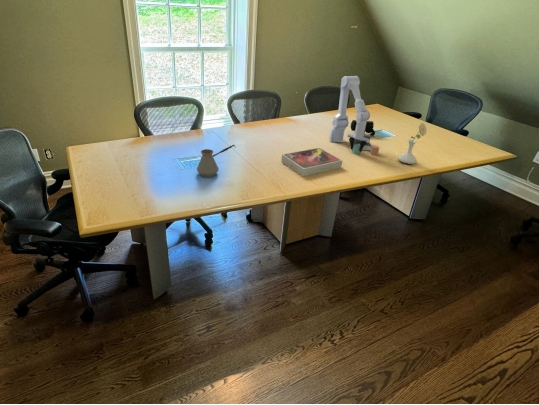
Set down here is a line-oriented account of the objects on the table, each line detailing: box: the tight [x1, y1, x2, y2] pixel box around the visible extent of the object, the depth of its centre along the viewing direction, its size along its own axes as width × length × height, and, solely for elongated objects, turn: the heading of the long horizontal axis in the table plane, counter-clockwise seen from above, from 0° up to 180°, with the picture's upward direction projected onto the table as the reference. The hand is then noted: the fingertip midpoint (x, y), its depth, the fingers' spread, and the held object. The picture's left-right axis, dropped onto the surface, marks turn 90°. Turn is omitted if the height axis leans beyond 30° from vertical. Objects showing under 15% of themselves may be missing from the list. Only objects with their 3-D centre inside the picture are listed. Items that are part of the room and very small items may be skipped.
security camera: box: [350, 119, 376, 137], centre depth 250 cm, size 7×18×10 cm, turn 89°
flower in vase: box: [397, 122, 428, 165], centre depth 207 cm, size 13×11×25 cm
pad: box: [362, 145, 371, 152], centre depth 229 cm, size 10×8×1 cm
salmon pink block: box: [369, 144, 380, 156], centre depth 221 cm, size 4×4×5 cm
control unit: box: [354, 133, 372, 147], centre depth 234 cm, size 12×5×6 cm, turn 88°
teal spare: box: [351, 144, 360, 154], centre depth 221 cm, size 4×4×5 cm
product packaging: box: [280, 147, 343, 177], centre depth 200 cm, size 22×28×5 cm
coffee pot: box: [196, 144, 237, 178], centre depth 181 cm, size 21×12×15 cm, turn 115°
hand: (355, 150), depth 221 cm, fingers closed on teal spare, 6 cm apart
